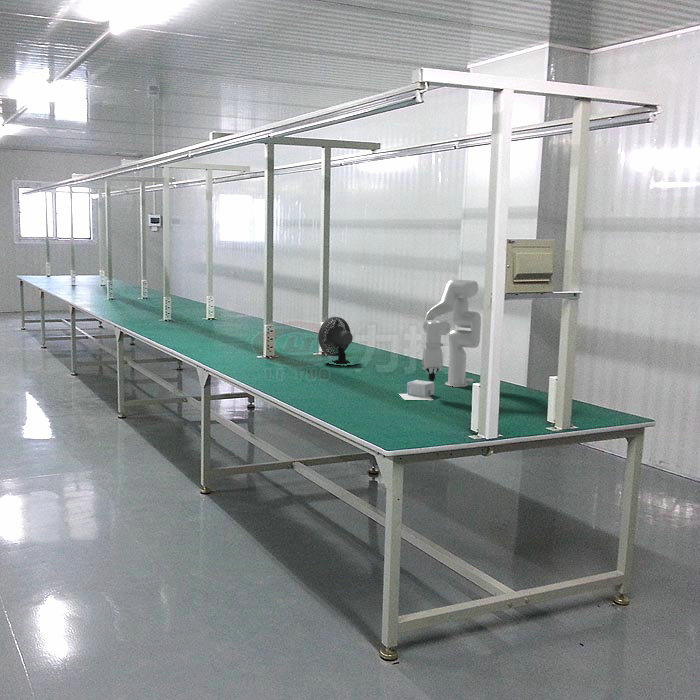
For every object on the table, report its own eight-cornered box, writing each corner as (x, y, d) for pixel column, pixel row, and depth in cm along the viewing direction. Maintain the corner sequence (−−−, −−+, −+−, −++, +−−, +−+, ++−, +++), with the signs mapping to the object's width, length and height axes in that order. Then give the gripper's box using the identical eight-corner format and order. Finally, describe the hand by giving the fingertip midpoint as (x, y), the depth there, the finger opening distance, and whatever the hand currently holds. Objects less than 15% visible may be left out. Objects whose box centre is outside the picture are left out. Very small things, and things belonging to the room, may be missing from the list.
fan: (354, 360, 512) (355, 315, 508) (360, 366, 486) (361, 320, 482) (315, 359, 509) (316, 315, 504) (319, 366, 483) (320, 319, 479)
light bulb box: (434, 394, 401) (416, 391, 407) (434, 381, 400) (417, 379, 406) (424, 397, 392) (406, 394, 398) (424, 384, 391) (406, 382, 397)
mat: (425, 394, 402) (425, 393, 402) (433, 400, 387) (433, 399, 387) (397, 394, 400) (397, 393, 400) (405, 400, 384) (405, 400, 384)
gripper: (445, 344, 396) (443, 379, 398) (417, 344, 393) (415, 379, 396) (449, 346, 389) (447, 382, 391) (421, 346, 386) (419, 382, 388)
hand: (431, 380), depth 393 cm, fingers closed
